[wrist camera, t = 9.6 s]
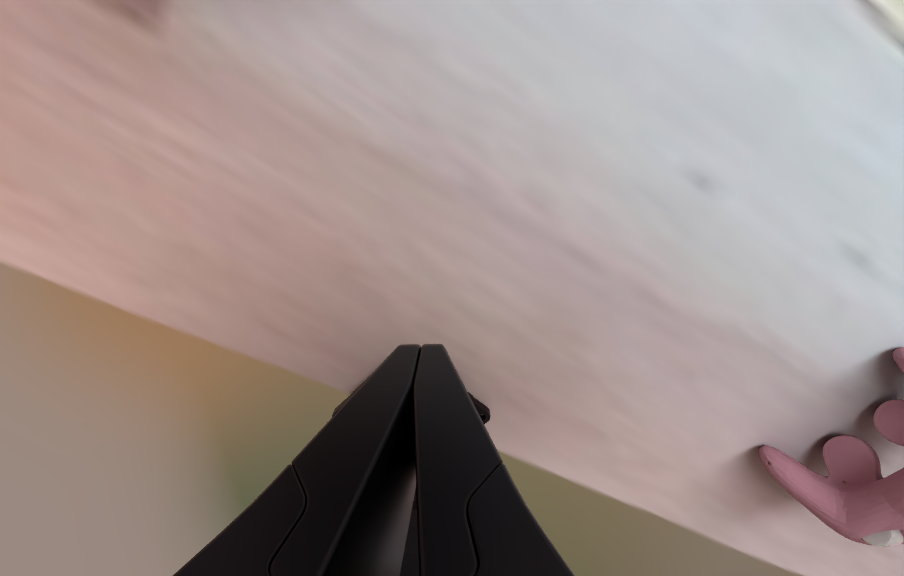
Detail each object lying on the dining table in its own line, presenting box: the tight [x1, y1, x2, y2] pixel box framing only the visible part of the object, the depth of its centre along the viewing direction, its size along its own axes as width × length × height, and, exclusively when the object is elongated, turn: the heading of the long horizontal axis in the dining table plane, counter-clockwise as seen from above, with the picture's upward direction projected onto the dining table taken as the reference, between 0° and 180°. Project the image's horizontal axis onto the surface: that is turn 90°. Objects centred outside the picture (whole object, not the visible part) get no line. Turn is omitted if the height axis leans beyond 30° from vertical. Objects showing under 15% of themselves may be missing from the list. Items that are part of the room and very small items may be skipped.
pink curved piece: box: [759, 347, 904, 547], centre depth 25 cm, size 10×5×7 cm, turn 149°
